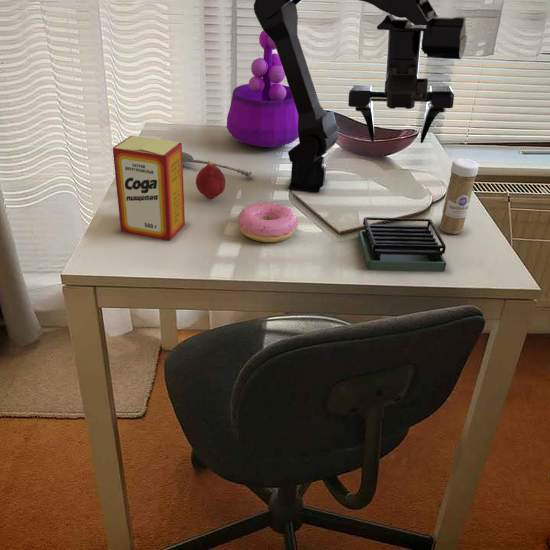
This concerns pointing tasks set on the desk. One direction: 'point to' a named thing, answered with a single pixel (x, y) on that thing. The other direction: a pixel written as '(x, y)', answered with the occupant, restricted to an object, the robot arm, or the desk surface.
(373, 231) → the rack
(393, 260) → the drip tray
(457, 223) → the sprinkles bottle
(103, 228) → the desk surface
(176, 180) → the baking soda box
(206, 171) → the onion
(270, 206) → the doughnut
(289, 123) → the decorative plant
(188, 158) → the soupspoon
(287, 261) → the desk surface
